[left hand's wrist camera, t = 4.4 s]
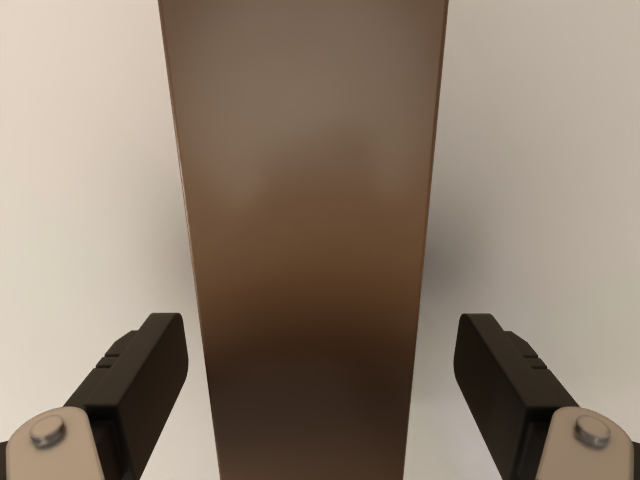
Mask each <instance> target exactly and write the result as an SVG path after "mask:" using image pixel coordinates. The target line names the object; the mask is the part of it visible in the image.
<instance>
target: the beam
mask: <svg viewBox="0 0 640 480" xmlns="http://www.w3.org/2000/svg"><path fill="white" fill-rule="evenodd" d="M448 3H449V0H158V6H159V13H160V21H161V29H162V36H163V44H164V52H165V59H166V67H167V75H168V82H169V90H170V98H171V105H172V113H173V121H174V128H175V136H176V144H177V151H178V159H179V167H180V174H181V182H182V190H183V197H184V205H185V213H186V220H187V228H188V236H189V243H190V251H191V259H192V267H193V274H194V282H195V290H196V297H197V305H198V313H199V320H200V328H201V336H202V343H203V351H204V359H205V366H206V374H207V382H208V389H209V397H210V405H211V412H212V420H213V428H214V435H215V443H216V451H217V458H218V466H219V474H220V480H403V475H404V465H405V454H406V444H407V433H408V423H409V412H410V402H411V391H412V381H413V370H414V360H415V349H416V339H417V328H418V318H419V307H420V297H421V286H422V276H423V265H424V255H425V244H426V234H427V223H428V213H429V202H430V192H431V181H432V171H433V160H434V150H435V139H436V129H437V118H438V108H439V97H440V87H441V76H442V66H443V55H444V45H445V34H446V24H447V13H448Z"/></svg>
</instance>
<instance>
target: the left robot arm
mask: <svg viewBox="0 0 640 480" xmlns="http://www.w3.org/2000/svg"><path fill="white" fill-rule="evenodd" d="M187 372H188V352H187V346H186V339H185V332H184V325H183V319H182V316H181V314H180V313H152V314H150V315H149V317H148V318H147V319H146V321H145V322H144V323H143V325H142V326H141V327H140V329H139V330H138V331H130V332H129V333H127V334H126V335H124V336H123V337H121V338H120V339H118V340H117V341H115V342H114V344H113V345H112V346H111V347H110V349H109V350H108V351H107V352H106V354H105V357H102V359H101V360H100V361H99V362H98V364H97V365H96V368H93V370H92V371H91V372H90V373H89V375H88V376H87V377H86V378H85V380H84V381H83V382H82V383H81V385H80V386H79V387H78V388H77V390H76V391H75V392H74V393H73V395H72V396H71V397H70V398H69V399H68V401H67V402H66V403H65V404H64V406H63V407H60V408H55V409H52V410H49V411H46V412H43V413H41V414H39V415H37V416H35V417H33V418H32V419H30V420H29V421H27V422H26V423H24V424H23V425H22V426H20V427H19V428H18V429H17V430H16V431H15V432H14V434H13V435H12V436H11V438H10V439H9V441H5V442H1V443H0V480H140V478H141V476H142V473H143V471H144V469H145V467H146V465H147V463H148V460H149V458H150V456H151V454H152V452H153V449H154V447H155V445H156V443H157V441H158V439H159V436H160V434H161V432H162V430H163V428H164V426H165V423H166V421H167V419H168V417H169V415H170V413H171V410H172V408H173V406H174V404H175V402H176V399H177V397H178V395H179V393H180V391H181V389H182V386H183V384H184V382H185V380H186V377H187ZM454 373H455V377H456V380H457V383H458V385H459V387H460V389H461V391H462V394H463V396H464V398H465V400H466V402H467V404H468V406H469V409H470V411H471V413H472V415H473V417H474V419H475V421H476V424H477V426H478V428H479V430H480V432H481V434H482V437H483V439H484V441H485V443H486V445H487V447H488V449H489V452H490V454H491V456H492V458H493V460H494V462H495V464H496V467H497V469H498V471H499V473H500V475H501V477H502V479H503V480H640V443H636V442H633V441H631V439H630V438H629V436H628V435H627V434H626V432H625V431H624V430H623V429H622V428H621V427H620V426H618V425H617V424H616V423H614V422H613V421H611V420H610V419H608V418H607V417H605V416H603V415H601V414H599V413H597V412H594V411H591V410H588V409H585V408H580V407H579V405H578V404H577V403H576V402H575V400H574V399H573V398H572V397H571V395H570V394H569V393H568V392H567V391H566V389H565V388H564V387H563V386H562V384H561V383H560V382H559V381H558V379H557V378H556V377H555V376H554V375H553V373H552V372H551V371H550V370H549V369H547V366H546V365H545V363H544V362H543V361H542V360H541V359H540V358H538V355H537V354H536V352H535V351H534V350H533V349H532V348H531V346H530V345H529V344H528V343H527V342H526V341H524V340H523V339H522V338H520V337H519V336H517V335H516V334H514V333H513V332H511V331H504V330H503V329H502V328H501V326H500V325H499V324H498V322H497V321H496V320H495V318H494V317H493V316H492V315H491V314H462V315H461V317H460V320H459V326H458V333H457V340H456V347H455V353H454Z"/></svg>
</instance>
